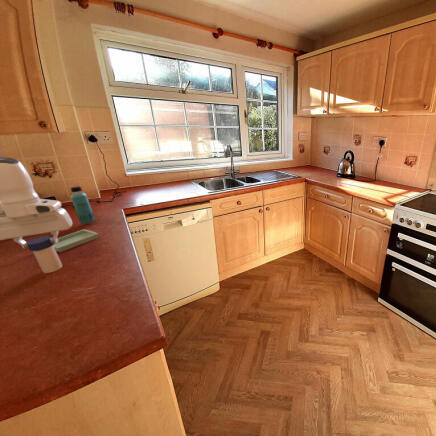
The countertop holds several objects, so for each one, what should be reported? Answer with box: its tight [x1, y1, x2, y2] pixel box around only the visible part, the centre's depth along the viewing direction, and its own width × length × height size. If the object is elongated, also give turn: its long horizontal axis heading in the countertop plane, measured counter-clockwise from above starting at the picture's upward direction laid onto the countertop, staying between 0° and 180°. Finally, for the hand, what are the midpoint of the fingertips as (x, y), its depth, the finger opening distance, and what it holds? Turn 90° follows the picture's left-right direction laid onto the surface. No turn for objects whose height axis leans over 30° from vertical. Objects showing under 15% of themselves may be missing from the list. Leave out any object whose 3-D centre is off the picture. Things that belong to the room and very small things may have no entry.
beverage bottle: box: [70, 185, 96, 224], centre depth 125 cm, size 6×7×20 cm
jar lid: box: [26, 235, 54, 252], centre depth 85 cm, size 6×6×3 cm
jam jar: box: [31, 245, 63, 274], centre depth 87 cm, size 5×5×11 cm
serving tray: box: [53, 228, 100, 253], centre depth 109 cm, size 15×12×2 cm
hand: (41, 245), depth 85 cm, fingers closed on jar lid, 6 cm apart
